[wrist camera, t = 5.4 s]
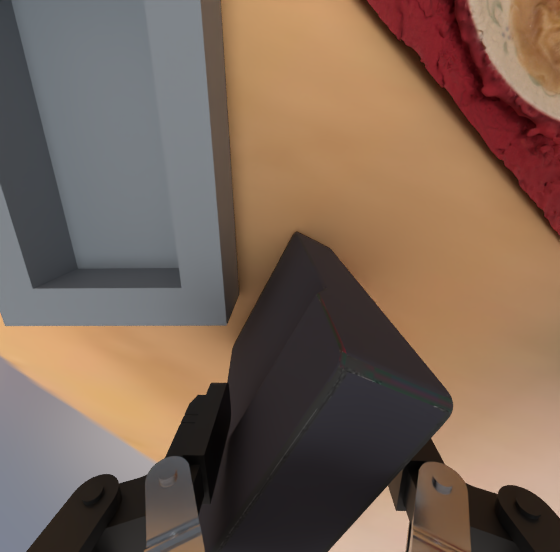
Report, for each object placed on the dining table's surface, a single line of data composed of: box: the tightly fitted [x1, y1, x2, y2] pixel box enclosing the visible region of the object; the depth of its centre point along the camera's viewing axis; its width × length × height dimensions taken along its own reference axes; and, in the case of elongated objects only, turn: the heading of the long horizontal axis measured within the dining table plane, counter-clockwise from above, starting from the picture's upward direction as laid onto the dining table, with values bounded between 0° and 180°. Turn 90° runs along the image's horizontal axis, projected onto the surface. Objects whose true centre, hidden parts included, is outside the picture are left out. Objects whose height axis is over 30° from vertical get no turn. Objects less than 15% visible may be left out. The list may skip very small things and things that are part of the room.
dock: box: [0, 0, 239, 326], centre depth 17 cm, size 14×21×5 cm, turn 1°
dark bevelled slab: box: [198, 232, 453, 552], centre depth 16 cm, size 11×4×15 cm, turn 153°
